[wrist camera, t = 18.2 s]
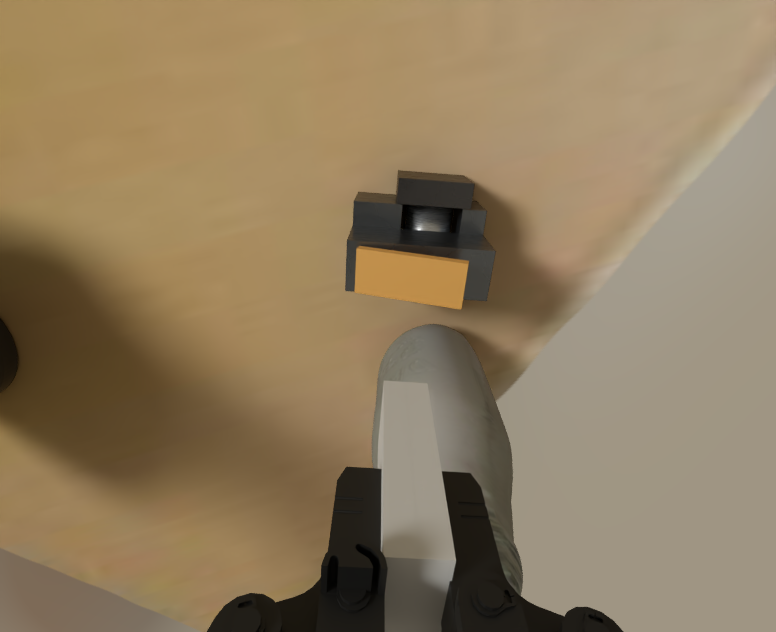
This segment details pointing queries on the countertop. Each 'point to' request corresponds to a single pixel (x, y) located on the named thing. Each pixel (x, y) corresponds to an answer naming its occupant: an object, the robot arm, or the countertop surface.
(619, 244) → the countertop surface
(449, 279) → the plate
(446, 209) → the lynch pin
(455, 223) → the block
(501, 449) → the grey vase
